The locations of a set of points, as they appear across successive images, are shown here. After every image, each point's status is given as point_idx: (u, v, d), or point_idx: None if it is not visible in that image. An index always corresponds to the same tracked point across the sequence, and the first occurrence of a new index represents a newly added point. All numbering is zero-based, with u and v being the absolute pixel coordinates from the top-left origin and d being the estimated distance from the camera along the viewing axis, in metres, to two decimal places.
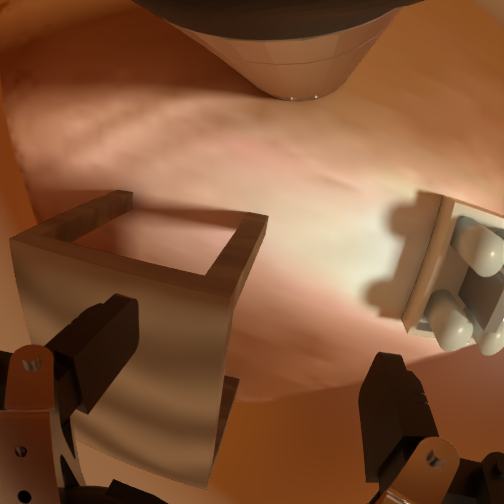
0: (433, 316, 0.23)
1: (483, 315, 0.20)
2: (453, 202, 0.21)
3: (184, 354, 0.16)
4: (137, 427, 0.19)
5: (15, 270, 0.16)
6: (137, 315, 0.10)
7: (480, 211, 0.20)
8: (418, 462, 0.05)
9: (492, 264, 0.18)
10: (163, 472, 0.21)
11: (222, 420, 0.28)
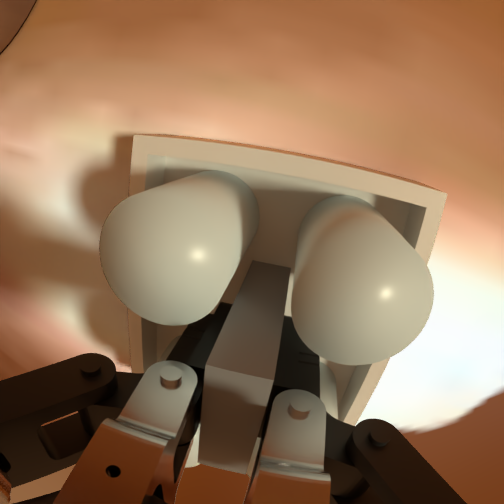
0: None
1: None
2: None
3: None
4: None
5: None
6: None
7: (210, 144, 0.09)
8: (280, 420, 0.06)
9: (176, 288, 0.07)
10: None
11: None
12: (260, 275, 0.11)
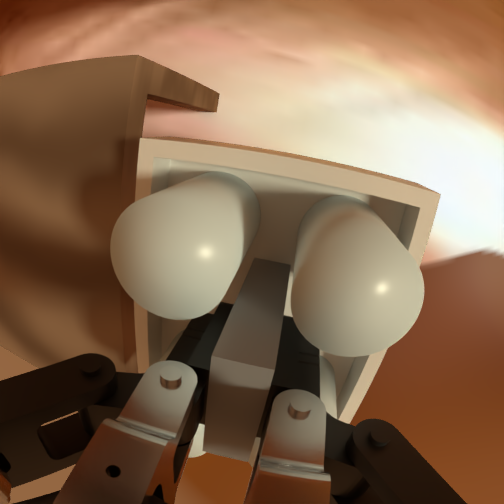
0: None
1: None
2: None
3: (90, 140, 0.13)
4: (47, 291, 0.16)
5: None
6: None
7: (213, 148, 0.10)
8: (280, 420, 0.06)
9: (183, 285, 0.08)
10: None
11: None
12: (261, 272, 0.11)
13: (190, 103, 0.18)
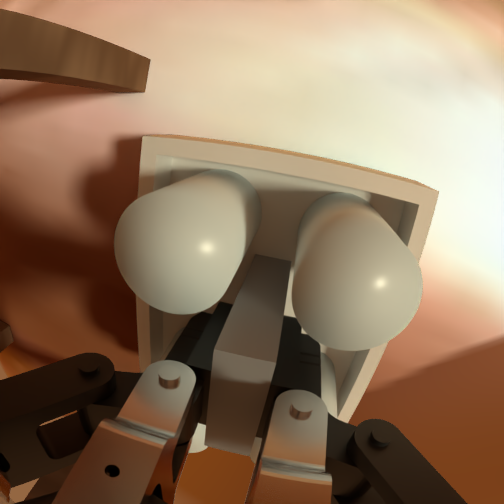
0: None
1: None
2: None
3: None
4: None
5: None
6: None
7: (215, 145, 0.10)
8: (282, 420, 0.06)
9: (186, 280, 0.08)
10: None
11: None
12: (263, 268, 0.11)
13: (53, 72, 0.07)
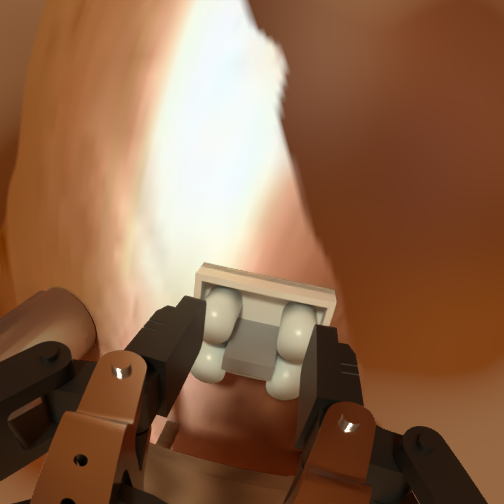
0: None
1: None
2: None
3: (154, 469, 0.22)
4: None
5: None
6: (204, 316, 0.11)
7: None
8: (331, 430, 0.06)
9: (212, 367, 0.26)
10: None
11: None
12: None
13: None
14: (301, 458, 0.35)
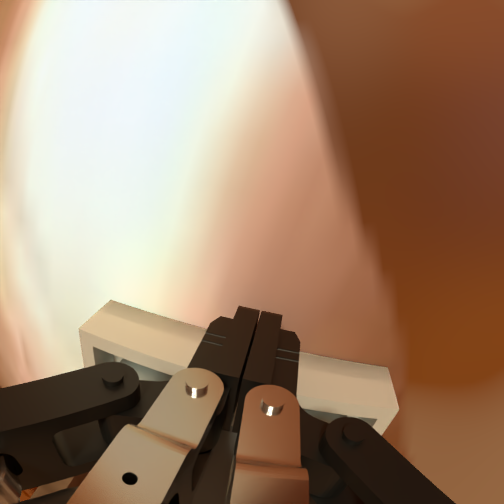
0: None
1: None
2: None
3: None
4: None
5: None
6: (256, 326, 0.11)
7: None
8: (253, 417, 0.06)
9: None
10: None
11: None
12: None
13: None
14: None
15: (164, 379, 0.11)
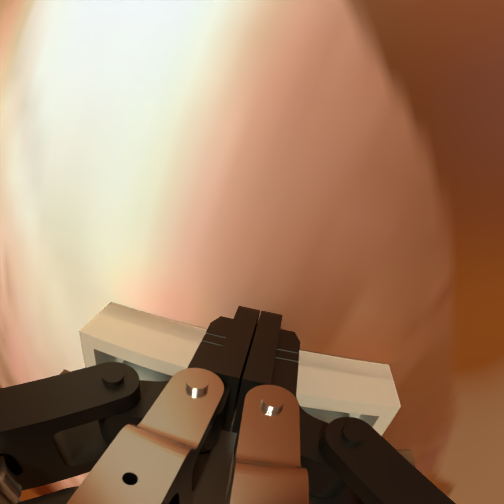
0: None
1: None
2: None
3: None
4: None
5: None
6: (256, 326, 0.11)
7: None
8: (253, 417, 0.06)
9: None
10: None
11: None
12: None
13: None
14: None
15: (165, 380, 0.11)
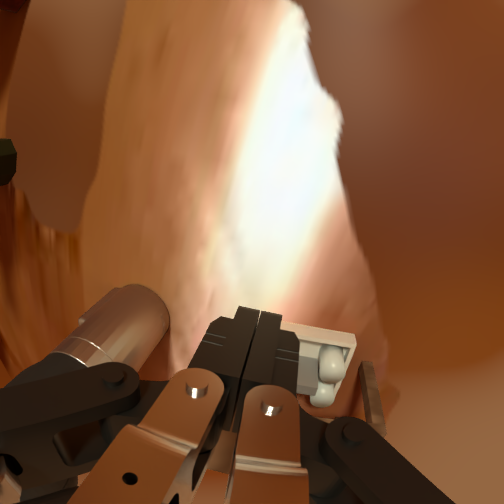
0: None
1: None
2: None
3: None
4: None
5: (216, 470, 0.36)
6: (256, 326, 0.11)
7: None
8: (253, 417, 0.06)
9: None
10: None
11: (366, 392, 0.36)
12: None
13: None
14: None
15: None
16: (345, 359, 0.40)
